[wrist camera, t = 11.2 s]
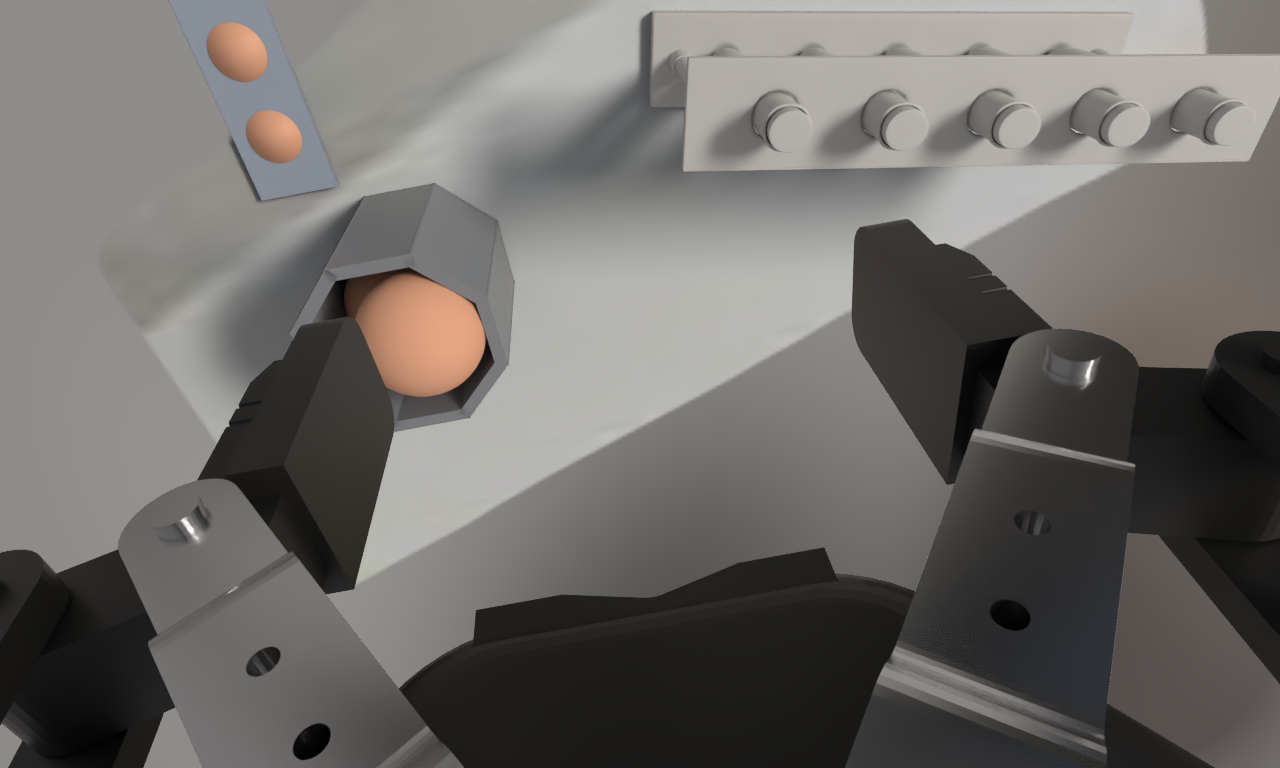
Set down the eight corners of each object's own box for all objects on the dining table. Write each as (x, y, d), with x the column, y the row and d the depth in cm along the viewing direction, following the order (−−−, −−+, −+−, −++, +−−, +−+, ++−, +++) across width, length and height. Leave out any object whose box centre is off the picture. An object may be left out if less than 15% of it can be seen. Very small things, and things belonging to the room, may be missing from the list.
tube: (314, 205, 40) (262, 280, 33) (484, 173, 40) (471, 241, 33) (375, 349, 45) (343, 442, 38) (525, 321, 45) (522, 408, 38)
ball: (305, 306, 34) (388, 283, 30) (401, 266, 38) (482, 242, 35) (362, 423, 36) (446, 413, 32) (447, 371, 40) (528, 358, 37)
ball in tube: (359, 223, 41) (302, 286, 37) (456, 220, 40) (409, 285, 35) (398, 310, 45) (351, 376, 41) (489, 310, 44) (450, 378, 39)
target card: (167, -12, 34) (162, -11, 33) (254, -28, 34) (250, -27, 33) (264, 198, 39) (261, 201, 39) (338, 184, 39) (336, 187, 39)
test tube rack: (648, 103, 39) (689, 193, 28) (651, 10, 36) (696, 68, 26) (1095, 99, 41) (1291, 180, 31) (1126, 11, 39) (1351, 65, 28)
